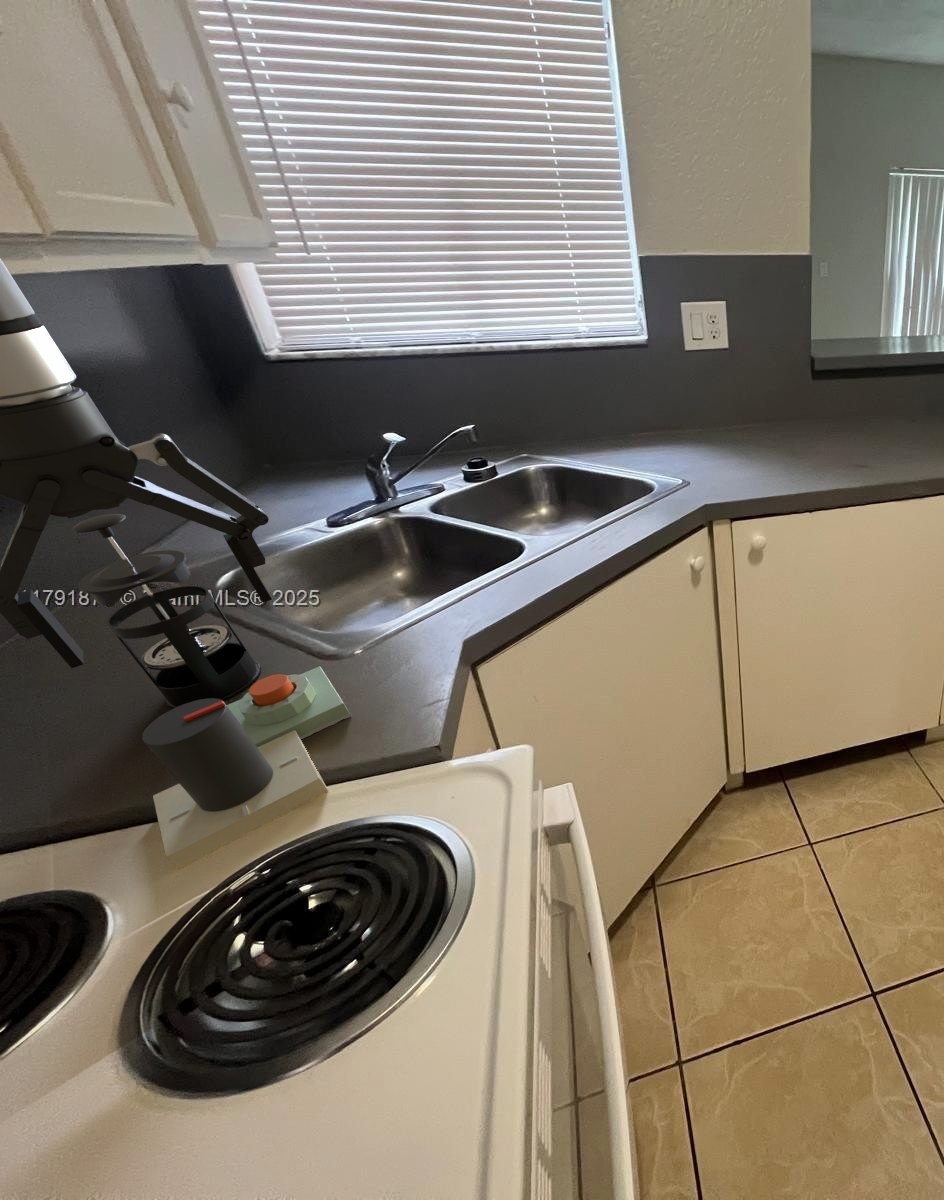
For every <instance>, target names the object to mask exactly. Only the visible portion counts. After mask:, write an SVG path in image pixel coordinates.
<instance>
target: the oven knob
mask: <svg viewBox="0 0 944 1200" xmlns="http://www.w3.org/2000/svg"><path fill="white" fill-rule="evenodd" d="M227 705H228V704H226V701H222V700H219V699H211V698H210V699H201V700H196V701H193V702H189V703H186V704H183V705H181V706H178V707H176V708H174V709H172V708H171V709H169V710H168V711H166V712H164V713H163V714H161V715H159V716H158V717H157V718H155V719H154V720H153V721H151V722H150V723H149V724H148V725H147V727H146V728H145V729H144V731H143V732H142V735H141V740H142V742H143V743H144V744H145V746H147V748H148V749H149V750H150V751H151V752H152V754H154V756H155V757H156V758H157V759H158V760H159V761H160V763H161V764H162V765H163V766H164V767H165V769H166V770H167V771H168V772H169V773H170V774H171V775H172V777H173V778H174V779H175V781H176V782H178V784H180V785H181V786H182V787H183V788H184V789H185V791H186V792H187V793H188V794H189V795H190V796H191V798H192V799H193V800H194V801H195V802H196V803H197V804H198V806H199V807H200V808H201V809H203V810H206V811H221V810H226V809H229V808H232V807H235V806H237V805H240V804H242V803H244V802H246V801H247V800H249V799H251V798H252V797H254V796H255V795H257V794H258V793H259V792H260V791H262V790H263V789H264V788H265V787H266V786H267V784H268V783H269V782H270V780H271V778H272V775H273V769H272V767H271V766H270V765H269V763H268V762H267V760H266V759H265V758H264V756H263V755H262V753H261V752H260V751H259V749H258V748H257V747H256V745H255V744H254V742H253V741H252V740H251V738H250V737H249V735H248V734H247V733H246V731H245V730H244V729H243V727H242V726H241V724H240V723H239V722H238V720H237V719H236V717H235V716H234V715H233V713H232V712H231V711H230V709H229V708H228V706H227Z"/></svg>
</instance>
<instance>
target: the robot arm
mask: <svg viewBox="0 0 944 1200" xmlns="http://www.w3.org/2000/svg"><path fill="white" fill-rule="evenodd" d="M76 379H77V375H76V373H75V372H74V370H73V369H72V367H71V365H70V363H68V361H67V359H66V357H65V356H64V354H63V353H62V351H61V350H60V349H59V347H58V345H57V344H56V343H55V341H54V340H53V338H52V336H51V335H50V333H49V332H48V330H47V328H46V327H45V325H44V324H42V322H41V321H40V319H39V318H38V316H37V315H36V312H35V310H34V309H33V308H32V305H31V304H30V303H29V301H28V300H27V298H26V296H25V295H24V293H23V291H22V290H21V288H20V287H19V285H18V284H17V282H16V280H15V279H14V278H13V276H12V274H11V273H10V271H9V270H8V268H7V267H6V265H5V263H4V261H3V259H2V258H1V257H0V496H1V497H4V498H6V499H9V500H12V501H14V502H17V503H18V504H22V505H23V506H22V509H21V511H20V515H19V517H18V519H17V522H16V525H15V527H14V529H13V532H12V535H11V538H10V540H9V542H8V544H7V546H6V549H5V551H4V554H3V557H2V559H1V561H0V614H1V616H2V617H4V619H5V620H6V621H7V622H8V623H9V625H11V626H12V628H13V629H14V630H15V631H16V633H18V634H19V635H20V636H21V637H23V638H26V639H27V640H29V639H33V638H36V637H38V636H41V635H42V636H43V637H44V638H45V640H46V641H47V642H48V643H49V644H50V645H51V646H52V647H53V649H54V650H55V651H56V652H57V654H59V655H60V657H61V658H62V659H63V660H64V662H66V664H67V665H68V666H69V667H70V668H71V669H74V668H77V667H80V666H84V664H85V662H84V661H85V659H84V651H83V649H82V647H80V646H79V644H78V643H77V642H76V641H75V640H74V639H73V637H72V636H71V635H70V634H69V633H68V632H67V630H66V629H65V627H63V625H62V624H61V623H60V622H59V621H58V620H57V618H56V617H55V616H54V615H53V613H52V612H51V611H50V610H49V609H48V608H47V607H46V605H45V604H44V603H43V602H42V601H41V599H40V598H39V597H38V596H37V595H36V593H35V592H34V591H33V590H32V589H28V590H24V591H21V592H18V590H19V588H20V586H21V584H22V582H23V579H24V577H25V574H26V571H27V569H28V566H29V564H30V562H31V559H32V557H33V555H34V553H35V549H36V547H37V546H38V542H39V541H40V538H41V536H42V533H43V531H44V530H45V528H46V526H47V523H48V520H49V518H50V516H53V517H59V518H62V517H63V518H67V519H69V520H70V519H74V518H78V517H80V516H84V515H86V514H87V513H90V512H92V511H99V510H110V509H115V508H119V507H121V506H120V505H121V504H123V503H124V502H125V501H127V499H130V500H132V501H134V502H137V503H140V504H142V505H146V506H152V507H155V508H156V509H159V510H162V511H165V512H167V513H170V514H173V515H176V516H179V517H181V518H184V519H186V520H189V521H191V522H194V523H196V524H200V525H203V526H205V527H208V528H211V529H212V530H215V531H218V532H222V533H223V536H222V537H223V538H224V540H225V542H226V544H227V545H228V547H229V548H230V551H231V552H232V554H233V556H234V557H235V558H236V560H237V562H238V564H239V566H240V567H241V569H242V570H243V572H244V574H245V576H246V577H247V579H248V580H249V582H250V584H251V585H252V587H253V588H254V590H255V592H256V593H257V595H258V597H259V598H260V601H262V603H267V602H269V601H272V600H273V598H272V597H271V594H270V593H269V591H268V589H267V588H266V586H265V584H264V583H263V581H262V579H261V578H260V576H259V574H258V573H257V571H256V569H255V568H257V567H261V566H263V565H266V558H265V556H264V554H263V552H262V550H261V548H260V547H259V545H258V543H257V542H256V540H255V538H254V536H253V533H254V531H255V530H256V529H257V528H259V527H260V526H265V525H266V524H268V522H269V520H270V519H269V517H268V515H267V513H266V512H265V511H264V509H263V508H262V507H260V505H257V504H256V503H255V502H253V501H252V500H250V499H249V498H247V497H246V496H244V495H243V494H241V493H240V492H239V491H237V490H236V489H234V488H233V487H231V486H229V485H228V484H227V483H225V482H224V481H222V480H221V479H219V478H218V477H217V476H215V475H214V474H212V473H211V472H209V471H208V470H206V469H205V468H203V467H202V466H200V465H199V464H197V463H196V462H195V461H193V460H191V459H190V458H189V457H187V456H185V454H184V453H183V452H182V451H181V450H180V448H179V447H178V446H177V444H176V443H175V442H174V440H173V439H172V438H171V436H169V435H167V434H165V433H161V432H160V433H156V434H154V435H153V436H152V438H151V439H149V440H146V441H143V442H138V443H136V444H133V445H127V444H125V443H124V442H122V441H121V440H120V439H118V437H117V436H116V435H115V433H114V432H113V430H112V429H111V427H110V426H109V424H108V422H107V421H106V419H105V417H104V416H103V415H102V413H101V411H100V410H99V408H98V407H97V406H96V403H95V402H94V401H93V399H92V398H91V396H90V394H89V393H88V392H87V391H86V390H84V389H82V388H80V387H77V386H73V385H72V384H73V383H75V381H76ZM140 460H147V461H149V462H152V463H153V464H154V465H156V466H158V467H166V466H169V467H170V468H171V469H172V470H173V471H174V472H176V473H177V474H178V475H180V476H181V477H183V478H184V479H186V480H187V481H189V482H190V483H192V484H193V485H195V486H196V487H198V488H199V489H200V490H203V491H204V492H206V493H208V494H209V495H210V496H211V497H213V498H215V499H216V500H218V501H219V502H220V503H222V504H223V505H225V506H227V507H228V508H230V509H232V510H233V511H235V512H236V513H238V514H239V516H237V517H235V516H233V515H231V514H228V513H226V512H224V511H220V510H218V509H215V508H213V507H210V506H208V505H206V504H203V503H201V502H198V501H195V500H193V499H191V498H188V497H185V496H183V495H180V494H177V493H175V492H173V491H170V490H168V489H166V488H162V487H161V486H158V485H156V484H155V483H153V482H150V481H148V480H145V479H144V478H141V477H139V476H136V472H137V469H138V465H139V461H140Z"/></svg>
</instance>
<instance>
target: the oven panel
mask: <svg viewBox="0 0 944 1200" xmlns="http://www.w3.org/2000/svg"><path fill="white" fill-rule="evenodd" d="M302 741H303V740H301V738H300V737H299V735H298V734H297V732H296V731H295V730H294V731H292V732H290V733H287V734H285V735H283V736H281V737H279V738H277V739H274V740H272V741H270V742H268V743H266V744H264V745H261V746H259V747H257V748H258V749H259V751H260V752H261V753H262V755H263V756H264V758H265V759H266V760H267V762H268V763H269V765H270V766H271V767H272V769H273V775H272V778H271V780H270V782H269V783H268V784H267V786H266V787H265V788H264V789H263V790H262V791H260V792H259V793H258V794H257V795H255V796H254V797H252V798H251V799H249V800H247V801H246V802H244V803H242V804H240V805H237V806H235V807H232V808H229V809H226V810H221V811H206V810H203V809H201V808H200V807H199V806H198V804H197V803H196V802H195V801H194V800H193V799H192V798H191V796H190V795H189V794H188V793H187V792H186V791H185V789H184V788H183V787H182V786H181V785H180V784H179V783H177V784H175V785H173V786H171V787H169V788H166V789H164V790H162V791H160V792H158V793H156V794H153V795H152V798H153V803H154V808H155V813H156V817H157V822H158V827H159V831H160V837H161V841H162V846H163V851H164V855H165V858H166V859H167V860H168V861H169V862H170V863H171V864H172V865H173V866H174V868H176V869H177V870H178V871H179V870H182V869H184V868H185V867H187V866H189V865H191V864H193V863H195V862H197V861H198V860H200V859H202V858H204V857H206V856H208V855H210V854H212V853H213V852H216V851H218V850H219V849H221V848H222V847H225V846H227V845H229V844H231V843H233V842H235V841H236V840H238V839H241V838H243V837H244V836H246V835H248V834H250V833H252V832H254V831H256V830H258V829H260V828H261V827H263V826H265V825H267V824H269V823H271V822H273V821H274V820H277V819H278V818H280V817H282V816H284V815H286V814H288V813H290V812H291V811H293V810H296V809H297V808H299V807H301V806H303V805H305V804H307V803H309V802H311V801H312V800H314V799H316V798H318V797H320V796H322V795H324V794H327V792H329V789H328V787H327V785H326V783H325V782H324V780H323V777H322V776H321V774H320V772H319V770H318V768H317V766H316V764H315V762H314V760H313V759H312V760H313V761H312V760H311V758H312V757H311V758H310V756H311V755H310V753H309V751H308V749H307V747H306V745H305V743H304V741H303V742H302ZM303 743H304V744H303ZM304 745H305V746H304ZM305 747H306V748H305ZM306 749H307V750H306ZM307 751H308V752H307ZM308 753H309V754H308ZM309 755H310V756H309ZM313 762H314V763H313ZM314 764H315V765H314ZM315 766H316V767H315ZM316 768H317V769H316ZM317 770H318V771H317Z"/></svg>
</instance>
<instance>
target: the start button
mask: <svg viewBox="0 0 944 1200" xmlns="http://www.w3.org/2000/svg"><path fill="white" fill-rule="evenodd" d="M248 689H249V690H248V692H249V693H250V695H251V696H252V698H253V699H254V701H255V702H256V704H257V705H258V706H261V707H263V706H268V705H273V704H275V703H278V702H280V701H282V700H284V699H286V698H287V697H288V696H290V695H291V694H293V693H294V690H295V689H294V687H293V685H292V683H291V682H290V680H289V679H288V677H287V675H286V674H282V673H281V674H280V673H279V674H272V675H269V676H266V677H263V678H261V679H259V680H256V681H255V682H254V683H253V684H252V685H251V686H250V687H249V688H248Z"/></svg>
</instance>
